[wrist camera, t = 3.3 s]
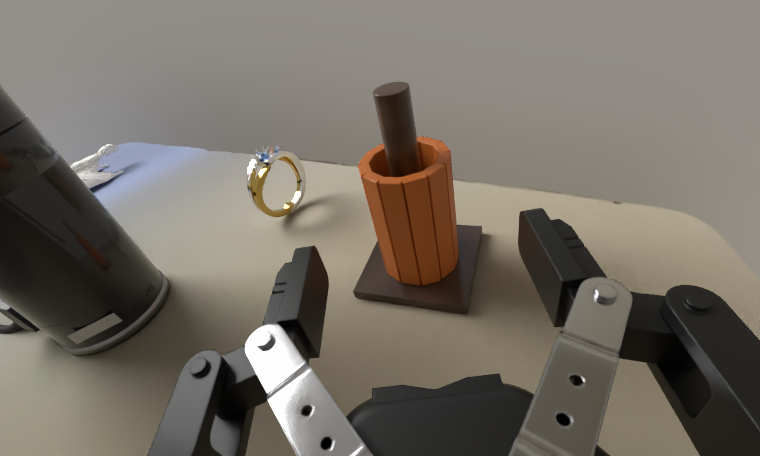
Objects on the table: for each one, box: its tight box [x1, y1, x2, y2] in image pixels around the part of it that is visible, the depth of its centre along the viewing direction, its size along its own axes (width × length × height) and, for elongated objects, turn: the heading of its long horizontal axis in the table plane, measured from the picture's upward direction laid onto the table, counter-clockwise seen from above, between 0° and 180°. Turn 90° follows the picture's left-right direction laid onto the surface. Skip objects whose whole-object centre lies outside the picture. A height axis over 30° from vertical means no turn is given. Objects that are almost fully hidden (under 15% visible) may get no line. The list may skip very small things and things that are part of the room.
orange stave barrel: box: [358, 137, 459, 285], centre depth 27 cm, size 6×6×10 cm
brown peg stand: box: [353, 82, 482, 314], centre depth 26 cm, size 9×9×15 cm
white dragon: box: [70, 144, 124, 189], centre depth 58 cm, size 18×10×4 cm, turn 143°
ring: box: [247, 144, 306, 217], centre depth 38 cm, size 7×3×8 cm, turn 141°
